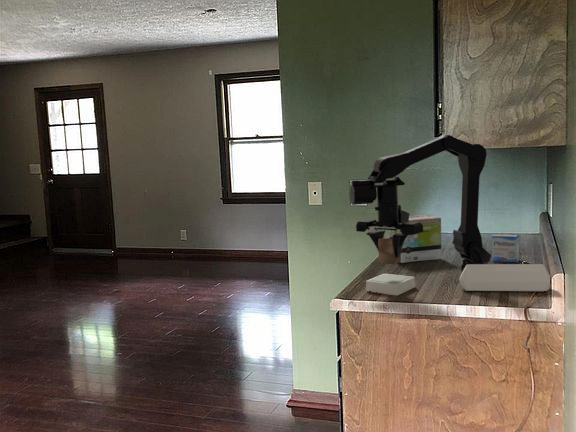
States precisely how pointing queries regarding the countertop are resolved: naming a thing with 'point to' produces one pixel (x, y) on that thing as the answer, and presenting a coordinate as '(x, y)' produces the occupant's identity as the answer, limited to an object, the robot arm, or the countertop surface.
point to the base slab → (390, 284)
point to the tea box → (422, 240)
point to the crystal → (505, 277)
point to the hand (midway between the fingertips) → (389, 256)
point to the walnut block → (387, 251)
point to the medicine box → (505, 248)
